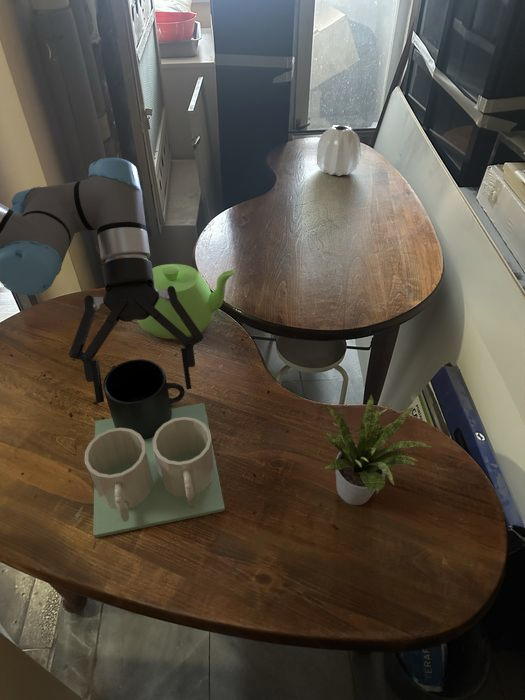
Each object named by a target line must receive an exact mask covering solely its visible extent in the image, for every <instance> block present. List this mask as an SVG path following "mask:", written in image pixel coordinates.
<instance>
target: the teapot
mask: <svg viewBox="0 0 525 700" xmlns="http://www.w3.org/2000/svg"><path fill="white" fill-rule="evenodd" d="M152 271H153V278H154V285H155V288H156V290H157V291H159V290H163V289H168V287H169V286H173V287H174V288H175V291H176V295H177V298H178V300H179V302H180V303H181V305H182V306H183V308H184V309H185V311H186V312H187V313H188V315H189V316H190V318H191V319H192V321H193V322H194V324H195V325H196V326H197V328H198V329H199V331H200V332H201V333H202V332H203V331H204V330H206V329H207V327H208V326H209V325H210V323H211V321H212V320H213V316H214V313H215V312H216V311H217V310H220V308H221V307H222V305H223V304H224V301H225V294H226V284H227V282H228V279H229V278H230V277H232V276H233V275H235V273H236V270H234V269H232V270H227V271H224V272H222V273H220V275H218V277H217V280H216V286H215V290H213V291H211V289H210V287H209V285H208V283H207V282H206V280H205V278H204V277H203V276H202V275H201V273H200V272H199V271H198V270H197V269H196V268H194V267H193V266H190V265H187V264H180V263H167V264H161V265H157V266H154V267H152ZM155 308H156V309H157V310H158V311H159V312H160V313H161V314H162V315H163V316H165V317H166V318H167V319H168V320H169V321H170V322H171V323H172V324H174V325H175V326H176V327H177V328H178V329H179V330H180V331H181V332H183V333H184V334H185V335H186V336H187V337H188V338H191V337H193V336H192V334H191V333H190V332H189V330H188V329H187V327H186V326H185V324H184V323H183V321H182V320H181V319H180V317H179V316H178V314H177V313H176V311H175V310H174V308H173V307H172V305H171V303H170V302H166V301H165V300H164V299H163V298H159V300H158V301H157V303H156V305H155ZM136 321H137V324H138V325H139V327H140V328H141V329H142V330H144V331H145V332H146V333H148V334H149V335H151V336H153V337H156V338H160V339H166V340H178V339H177V338H175V337H174V336H173V335H172V334H171V333H170V332H169V331H168V330H166V329H165V328H164V327H163V326H162V325H161V324H160V323H159V322H157V321H156V320H155V319H154V318H153V317H151V316H149V317H148V318H146V319H145V320H137V319H136Z"/></svg>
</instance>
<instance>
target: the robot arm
mask: <svg viewBox="0 0 525 700" xmlns="http://www.w3.org/2000/svg"><path fill="white" fill-rule="evenodd" d="M87 177H88V178H86V179H81V180H78V181H72V182H66V183H60V184H55V185H54V184H53V185H47V186H35V187H31V188H29V189H26V190H25V189H24V190H21V191H18V192H17V193H15V194H14V195H13V197H12V199H11V207H10V208H9V207H7V206H6V205H4V204H2V203H1V202H0V283H1V284H2V285H3V287H4V288H5V289H6V290H8V291H10V292H12V293H15V294H18V295H23V296H37V295H40V294H42V293H44V292H46V291H48V290H49V289H50V288H51V287H52V285H53V283H54V282H55V280H56V278H57V276H58V275H59V274H60V272H61V270H62V267H63V263H64V260H65V257H66V255H67V253H68V250H69V248H70V247H71V244H72V242H73V239H74V237H75V234H78V233H84V232H90V231H95V230H96V233H97V241H98V247H99V255H100V260H101V261H102V262H103V265H102V266H101V270H102V276H103V284H104V296H92V295H89V294H87V295H86V296H85V297H84V311H83V314H82V317H81V320H80V323H79V325H78V327H77V330H76V333H75V336H74V339H73V342H72V344H71V347H70V350H69V353H68V356H69V357H70V358H71V359H75V360H80V361H81V362H82V363H83V369H84V377H85V381H86V382H87V383H90V382H93V388H94V397H95V402H96V403H95V404H102V403H104V402H105V397H104V389H103V383H102V382H103V381H102V376H101V369H100V363H99V361H100V360H98V359H94V357H95V356H96V355H97V353H98V352H99V350H101V347H102V346H103V344H104V343H105V342H106V340H107V338H108V337H109V336H110V334H111V332H112V331H113V329H114V328H115V326H117V324H118V323H119V321H122V322H125V323H127V322H128V323H129V322H132V321H135V320H136V321H137V320H145V319H146V318H148V317H149V316H151V317H153V318H154V319H155V320H156V321H157V322H159V323H160V324H161V325H162V326H163V327H164V328H165V329H166V330H168V331H169V332H170V333H171V334H172V335H173V336H174V337H175V338H177V339H176V340H178V341H179V343H181V344H182V345H183V346H184V347H181V348H180V354H181V362H182V368H183V376H184V382H185V389H186V390H187V391H189V390H192V383H191V382H192V381H191V376H190V375H191V374H190V368H194V367H196V357H195V351H194V347H195V346H196V345H197V344H199V343H201V342H202V341H203V340H204V335H203V334H202V332H200V331H199V329H198V328H197V326H196V325H195V324H194V322H193V321H192V319H191V318H190V316H189V315H188V313H187V312H186V311H185V309H184V308H183V306H182V305H181V303H180V302H179V300H178V298H177V295H176V291H175V288H174V287H173V286H169V287H168V289H163V290H159V291H157V290H156V288H155V285H154V278H153V271H152V268H153V264H152V261H150V260H149V258H150V257H151V251H150V245H149V235H148V231H147V226H146V224H147V223H146V219H145V218H146V217H145V208H144V199H143V190H142V187H141V184H140V178H139V173H138V169H137V167H136V166H135V165H134V164H133V163H132V162H131V161H129V160H127V159H124V158H120V157H105V158H100V159H98V160H97V161H93V162H92V163H90V165H89V167H88V174H87ZM159 298H163V299H164V300H165V301H166V302H170V303H171V305H172V307H173V308H174V310H175V311H176V313H177V314H178V316H179V317H180V319H181V320H182V321H183V323H184V324H185V326H186V327H187V329H188V330H189V332H190V333H191V334H192V337H187V336H186V335H185V334H184V333H183V332H181V331H180V330H179V329H178V328H177V327H176V326H175V325H174V324H172V323H171V322H170V321H169V320H168V319H167V318H166V317H165V316H163V315H162V314H161V313H160V312H159V311H158V310H157V309H156V308H155V305H156V303H157V301H158V300H159ZM102 305H105V306H106V307H107V309H108V310H109V311H110V312H109V314H108V315H107V317H106V318H105V321H104V322H103V324H102V325H101V327H100V328H99V330H98V332H97V333H96V334H95V336H94V337H93V339H92V340H91V341H90V343H89V344H88V346H87V347H86V349H85V350H84V347H85V344H86V341H87V339H88V336H89V334H90V330H91V328H92V325H93V322H94V319H95V317H96V312H98V311H100V309H101V307H102ZM83 350H84V351H83Z"/></svg>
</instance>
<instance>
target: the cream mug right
mask: <svg viewBox="0 0 525 700" xmlns="http://www.w3.org/2000/svg"><path fill="white" fill-rule="evenodd" d="M212 441H213V440H212V434H211V431H210V428H209V429H208V428H207V426H206V425H205V424H204V423H203V422H201V421H199V420H197V419H195V418H189V417H181V418H175V419H172V420H170V421H168V422H166V423H164V424H163V425H162V426H161V427H160V428H159V429H158V430H157V431H156V433H155V435H154V438H153V451H154V455H155V460H156V464H157V468H158V473H159V477H160V482H161V484H162V485H163V487H164V488H165V490H166V491H168V492H170V493H171V494H173V495H175V496H181V497H187V503H188V507H189V508H194V507H195V499H194V495H197V494H198V493H200V492H202V491H203V490H205V489H206V488H207V487H208V485H209V484H210V483H211V481H212V478H213V475H214V464H213V452H212V446H213V442H212ZM184 453H195V454H199V455H198V456H197V457H195V458H193V459H191V460H188V461H183V462H177V461H170V460H171V459H172V458H174V457H176V456H177V455H179V454H184Z"/></svg>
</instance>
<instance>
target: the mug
mask: <svg viewBox="0 0 525 700" xmlns="http://www.w3.org/2000/svg"><path fill="white" fill-rule="evenodd" d="M167 380H168V379H167V375H166V372H165V370H164V369H163V366H161V365H160V364H159V363H156V362H155V361H152V360H149V359H143V358H138V359H129V360H126V361H123V362H121V363H119V364H117V365H115V366H114V367H113V368H112V369H110V370H109V371H108V372H107V374H106V375H105V377H104V379H103V383H102V389H103V394H104V396H105V399H106V402H107V406H108V408H109V412H110V415H111V418H112V419H113V422H114V426H115V428H127V429H132V430H134V431H135V432H137V433H139V434H140V435H141V436H142V438H143V439H148V438H151V437H154V435H155V433H156V431H157V430H158V429H159V428H160V427H161V426H162V425H163V424H164V423H166V422H168V421H170V420H171V416H172V410H171V408H172V405H174V404H176V403H178V402H181V400H183V399H184V397H185V393H186V390H185V387H184V386H183V385H182V384H180V383H178V382H168V381H167ZM170 389H175V390H177V391H178V392H179V394H178V395H177V396H175V397H170V392H169V390H170Z"/></svg>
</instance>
